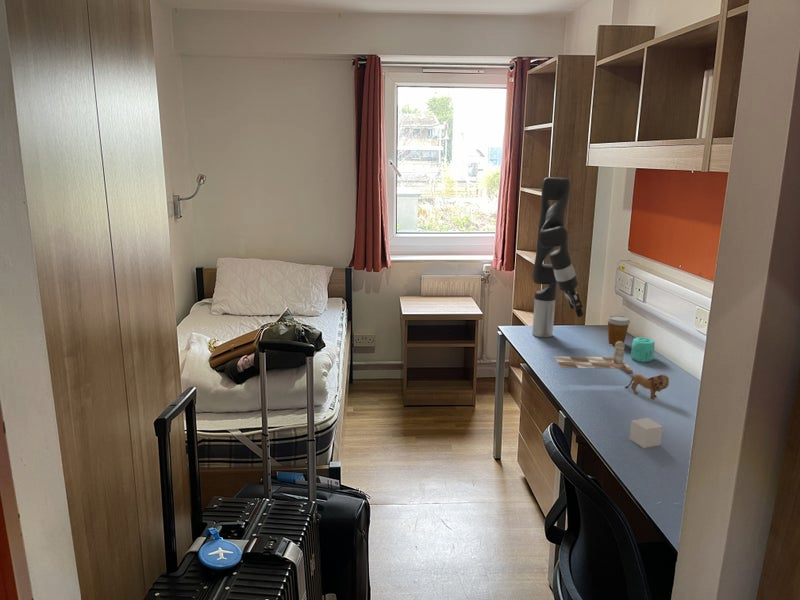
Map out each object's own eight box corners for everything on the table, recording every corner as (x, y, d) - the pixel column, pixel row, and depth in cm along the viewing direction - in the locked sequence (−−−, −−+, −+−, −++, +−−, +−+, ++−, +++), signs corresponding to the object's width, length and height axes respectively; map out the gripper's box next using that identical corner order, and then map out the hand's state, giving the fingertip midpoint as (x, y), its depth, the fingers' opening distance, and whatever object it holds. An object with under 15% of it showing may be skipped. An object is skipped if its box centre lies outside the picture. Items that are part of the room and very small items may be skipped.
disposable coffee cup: (618, 339, 266) (621, 314, 263) (632, 346, 257) (635, 320, 255) (600, 341, 264) (602, 315, 261) (613, 348, 255) (616, 321, 252)
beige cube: (645, 436, 176) (648, 417, 175) (660, 445, 171) (662, 426, 169) (629, 438, 174) (631, 420, 173) (643, 448, 169) (646, 429, 167)
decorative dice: (630, 360, 241) (632, 341, 239) (632, 354, 247) (634, 336, 245) (651, 363, 237) (653, 344, 235) (652, 357, 244) (655, 339, 242)
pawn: (609, 363, 232) (612, 339, 230) (621, 363, 232) (624, 339, 230) (613, 367, 228) (615, 343, 225) (625, 367, 228) (628, 343, 225)
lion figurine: (669, 398, 203) (672, 374, 201) (663, 403, 199) (667, 378, 197) (626, 387, 213) (629, 363, 210) (621, 391, 209) (623, 367, 207)
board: (550, 358, 241) (550, 355, 241) (618, 359, 241) (619, 356, 240) (559, 372, 226) (559, 368, 226) (632, 373, 226) (632, 369, 226)
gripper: (580, 278, 218) (592, 315, 223) (569, 266, 231) (580, 302, 237) (561, 285, 219) (573, 322, 224) (550, 273, 232) (562, 308, 237)
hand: (576, 312), depth 230 cm, fingers open, 8 cm apart
